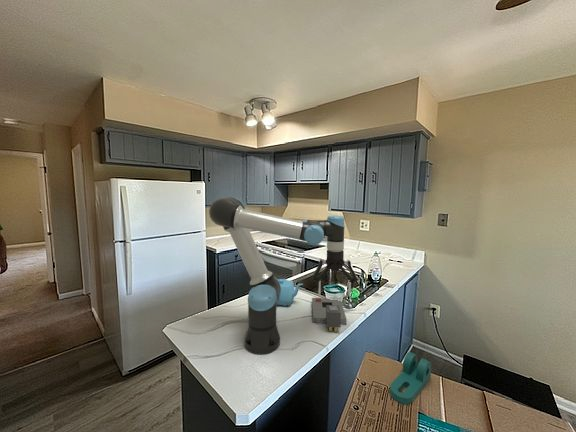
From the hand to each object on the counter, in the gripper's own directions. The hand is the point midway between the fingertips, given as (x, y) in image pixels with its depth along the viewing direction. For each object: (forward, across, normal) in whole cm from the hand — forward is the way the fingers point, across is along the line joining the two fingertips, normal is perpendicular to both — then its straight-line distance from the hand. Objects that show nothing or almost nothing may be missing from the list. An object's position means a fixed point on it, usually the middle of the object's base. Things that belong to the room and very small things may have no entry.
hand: (334, 294), depth 114 cm
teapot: (+17, +25, -25) cm, 39 cm away
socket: (+17, +1, -15) cm, 22 cm away
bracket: (+17, -22, +32) cm, 42 cm away
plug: (+17, 0, 0) cm, 17 cm away
